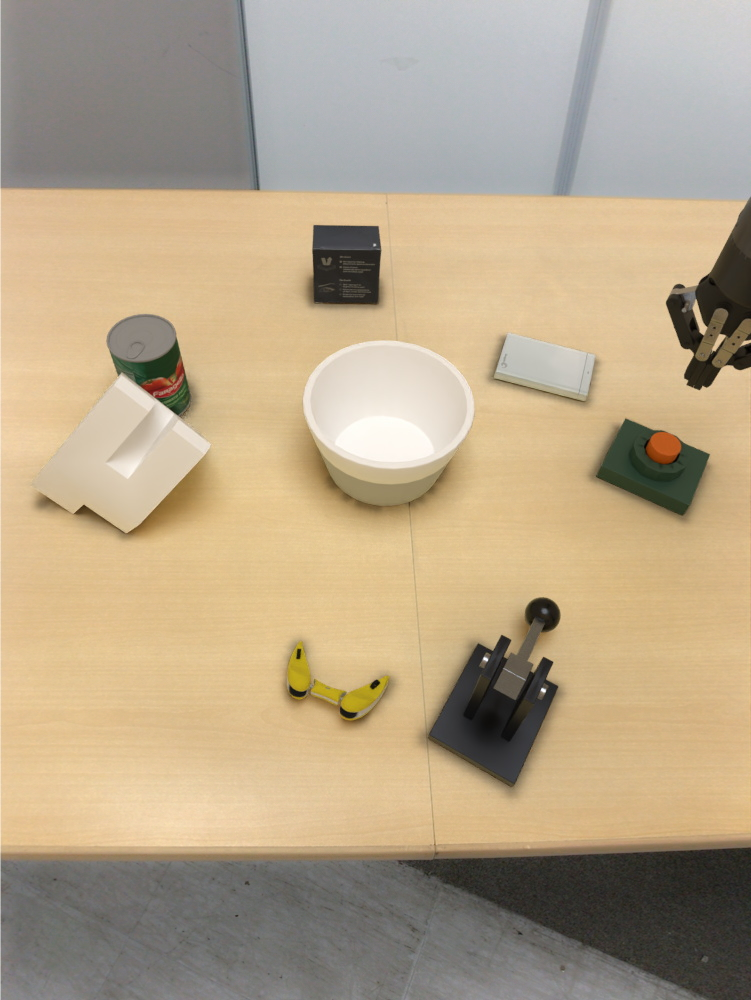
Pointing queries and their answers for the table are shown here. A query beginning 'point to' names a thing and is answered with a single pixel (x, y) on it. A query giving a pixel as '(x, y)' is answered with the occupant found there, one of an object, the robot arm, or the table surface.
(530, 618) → the lever
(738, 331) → the robot arm
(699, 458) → the button box
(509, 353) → the hard drive
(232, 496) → the table surface
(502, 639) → the bracket
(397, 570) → the table surface
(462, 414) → the bowl
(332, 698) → the yellow bent piece
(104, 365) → the table surface
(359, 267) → the box
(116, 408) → the slotted wedge
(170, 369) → the canned tomato
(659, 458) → the button
